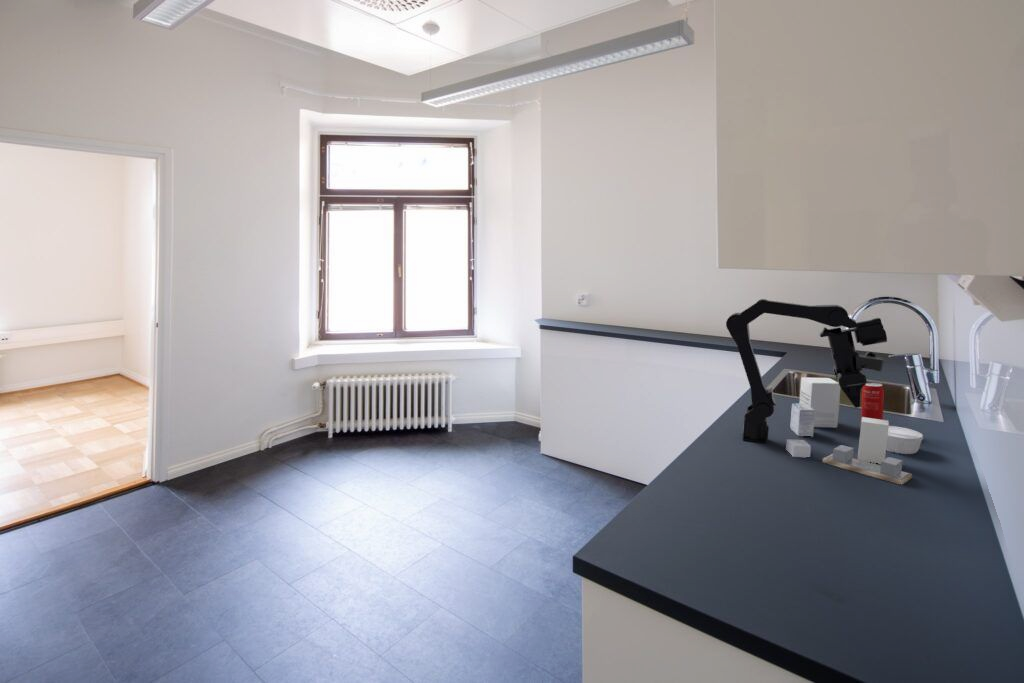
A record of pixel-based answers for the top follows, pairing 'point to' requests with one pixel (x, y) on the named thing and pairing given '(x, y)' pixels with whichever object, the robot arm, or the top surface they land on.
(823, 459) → the board
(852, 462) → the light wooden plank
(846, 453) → the block
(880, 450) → the block
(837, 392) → the supplement box
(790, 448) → the block
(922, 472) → the top surface
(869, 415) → the beverage can
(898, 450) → the ramekin
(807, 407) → the medicine box
